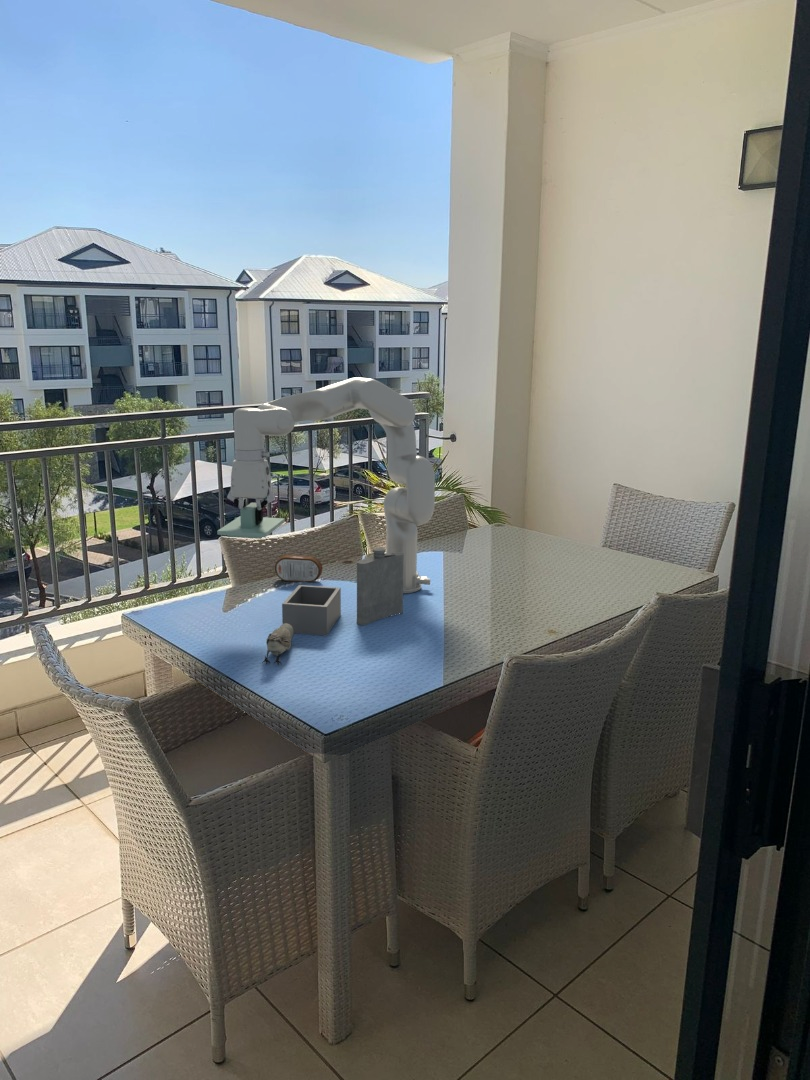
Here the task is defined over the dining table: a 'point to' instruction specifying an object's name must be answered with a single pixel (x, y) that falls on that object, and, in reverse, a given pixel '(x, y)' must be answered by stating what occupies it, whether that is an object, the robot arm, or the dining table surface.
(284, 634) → the decorative bird
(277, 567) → the tin
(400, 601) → the hip flask
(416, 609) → the dining table surface
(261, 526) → the lid
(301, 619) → the tub
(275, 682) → the dining table surface
